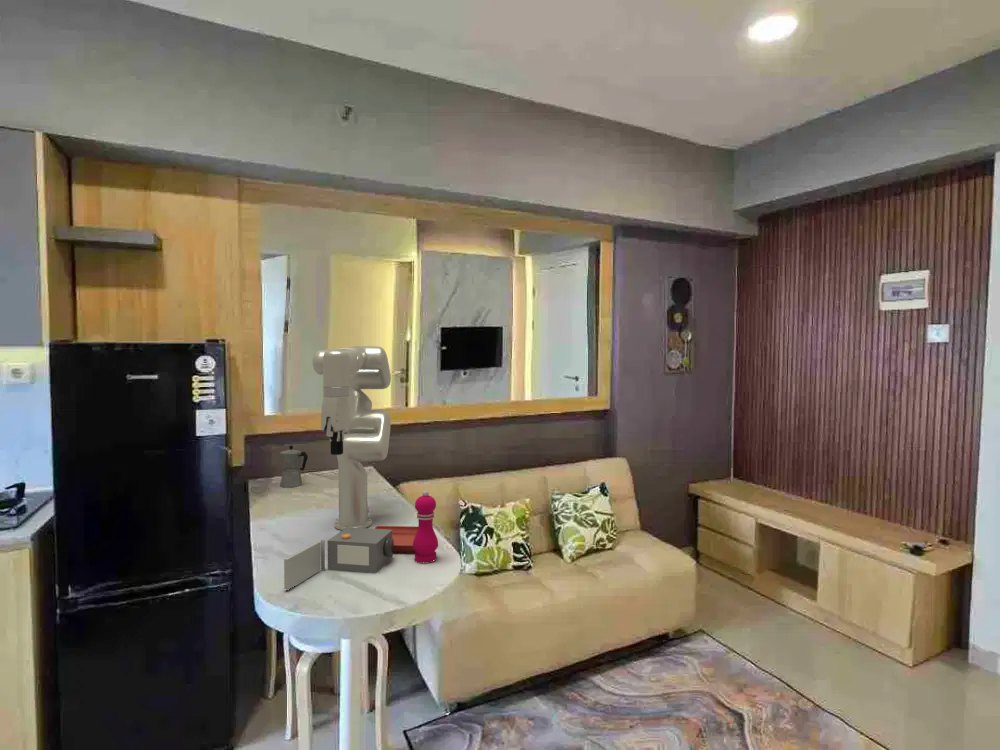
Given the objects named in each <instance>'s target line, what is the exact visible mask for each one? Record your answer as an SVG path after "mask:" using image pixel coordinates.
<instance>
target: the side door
mask: <svg viewBox="0 0 1000 750" xmlns="http://www.w3.org/2000/svg"><path fill="white" fill-rule="evenodd" d="M325 544H326V542H325V540H324V539H321V540H320V541H315V542H314V543H312V544H310V545H308V546H305V547H304V548H302V549H300V550H298V551H297V552H295V553H293V554H291V555H288V556H287V557H286V558H284V559H283V565H284V566H283V567H284V568H283V571H284V573H283V574H284V576H283V577H284V581H283V582H284V583H283V584H284V585H283V586H284V587H283V588H284V589H286V590H288V591H289V589H290V588H291V589H293V588H294V586H295V587H296V586H298V585H299V584H301V583H303V582H305V581H306V580H308V579H309V578H311V577H312V576H314V575H316V574H317V573H319V572H320V571H321V570H325V569H326V559H325V557H326V556H325V555H326V553H325V551H326V550H325V549H326V548H325V547H326V545H325ZM292 587H293V588H292ZM291 589H290V590H291ZM286 590H285V591H286Z"/></svg>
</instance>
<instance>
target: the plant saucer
mask: <svg viewBox="0 0 1000 750" xmlns="http://www.w3.org/2000/svg"><path fill="white" fill-rule="evenodd" d="M374 529H387V530H392V539H393V541H394V549H393V553H405V552H416V551H415V550H414V548H413V541H414V537H415V535H416V533H417V530H418V526H410V525H409V526H407V525H406V526H405V525H404V526H402V525H398V526H397V525H377V526H375V528H374Z"/></svg>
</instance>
